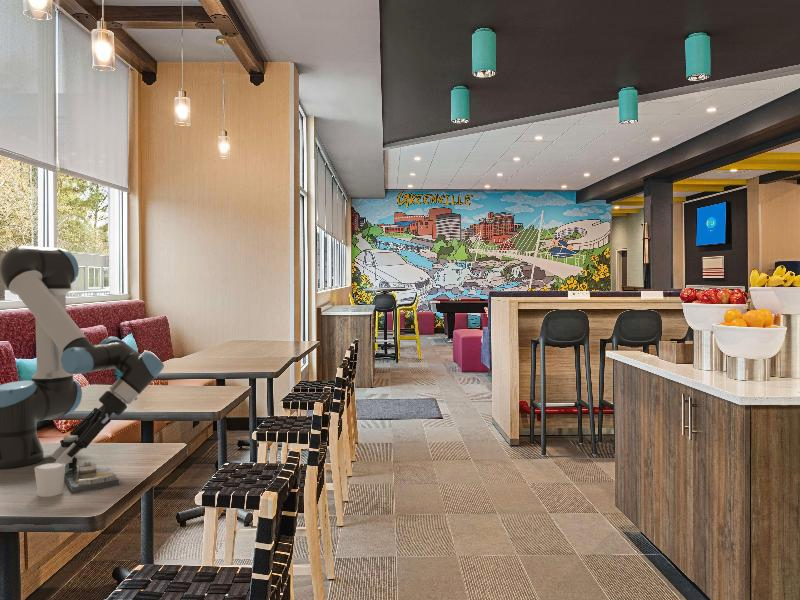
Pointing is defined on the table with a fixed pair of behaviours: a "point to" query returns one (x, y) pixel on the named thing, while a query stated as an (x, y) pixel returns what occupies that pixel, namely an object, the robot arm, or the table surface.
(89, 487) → the carrier plate
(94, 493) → the table surface
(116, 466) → the table surface
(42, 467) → the white tapered cup
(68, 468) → the push button
